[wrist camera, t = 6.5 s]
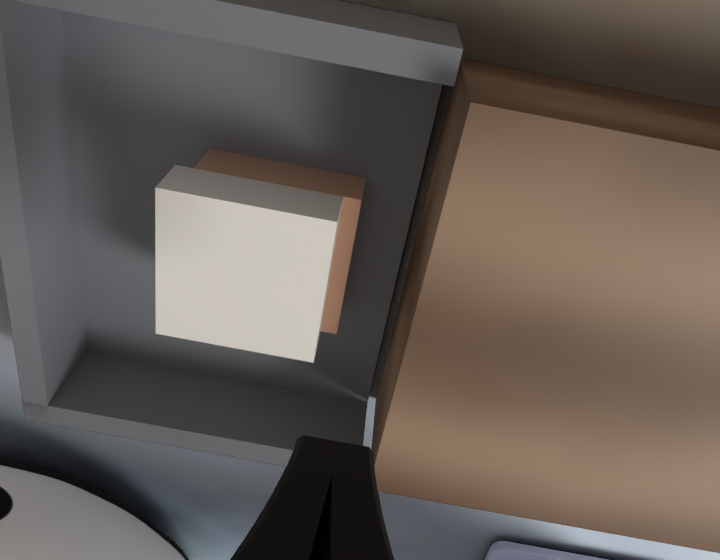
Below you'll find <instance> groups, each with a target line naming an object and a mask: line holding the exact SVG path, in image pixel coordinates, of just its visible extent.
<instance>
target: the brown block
mask: <svg viewBox="0 0 720 560" xmlns="http://www.w3.org/2000/svg"><path fill="white" fill-rule="evenodd" d="M372 451H373V453H374V467H375V476H376V483H377V489H378V492H384V493H389V494H395V495H400V496H406V497H412V498H417V499H423V500H428V501H434V502H439V503H445V504H450V505H456V506H461V507H467V508H473V509H478V510H484V511H489V512H495V513H500V514H506V515H511V516H517V517H522V518H528V519H534V520H539V521H545V522H550V523H556V524H561V525H567V526H572V527H578V528H583V529H589V530H595V531H600V532H606V533H611V534H617V535H622V536H628V537H633V538H639V539H644V540H650V541H656V542H661V543H667V544H672V545H678V546H683V547H689V548H694V549H700V550H705V551H711V552H717V553H720V109H717V108H711V107H706V106H701V105H696V104H691V103H686V102H681V101H676V100H671V99H665V98H660V97H655V96H650V95H645V94H640V93H635V92H630V91H625V90H619V89H614V88H609V87H604V86H599V85H594V84H589V83H584V82H579V81H573V80H568V79H563V78H558V77H553V76H548V75H543V74H538V73H533V72H527V71H522V70H517V69H512V68H507V67H502V66H497V65H492V64H487V63H481V62H476V61H471V60H466V59H461V60H460V64H459V68H458V73H457V77H456V81H455V85H454V87H453V89H452V93H451V97H450V101H449V105H448V109H447V113H446V117H445V121H444V125H443V129H442V133H441V137H440V141H439V146H438V150H437V154H436V158H435V162H434V166H433V170H432V174H431V178H430V182H429V186H428V190H427V194H426V198H425V202H424V206H423V210H422V215H421V219H420V223H419V227H418V231H417V235H416V239H415V243H414V247H413V251H412V255H411V259H410V263H409V267H408V271H407V275H406V279H405V284H404V288H403V292H402V296H401V300H400V304H399V308H398V312H397V316H396V320H395V324H394V328H393V332H392V336H391V340H390V344H389V348H388V353H387V357H386V361H385V365H384V369H383V373H382V377H381V381H380V385H379V389H378V393H377V397H376V404H375V416H374V427H373V439H372Z"/></svg>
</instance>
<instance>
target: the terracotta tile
mask: <svg viewBox="0 0 720 560" xmlns="http://www.w3.org/2000/svg"><path fill="white" fill-rule="evenodd" d="M194 169H200V170H205V171H210V172H215V173H221V174H226V175H231V176H236V177H242V178H247V179H252V180H257V181H263V182H268V183H273V184H278V185H284V186H289V187H294V188H299V189H305V190H310V191H315V192H320V193H326V194H331V195H336V196H341V197H343V203H342V209H341V215H340V221H339V227H338V232H337V238H336V244H335V250H334V256H333V262H332V267H331V273H330V279H329V285H328V291H327V297H326V303H325V308H324V314H323V320H322V326H321V331H323V332H328V333H333V334H337V329H338V324H339V319H340V313H341V308H342V303H343V297H344V292H345V287H346V281H347V276H348V271H349V265H350V260H351V255H352V249H353V244H354V239H355V233H356V228H357V223H358V217H359V212H360V207H361V201H362V196H363V191H364V185H365V180H366V178H362V177H357V176H351V175H346V174H341V173H336V172H330V171H325V170H320V169H315V168H309V167H304V166H299V165H294V164H289V163H283V162H278V161H273V160H268V159H262V158H257V157H252V156H247V155H241V154H236V153H231V152H226V151H220V150H215V149H209V150H208V151H207V152H206V154H205V155H204V156H203V157H202V159H201V160H200V161H199V162H198V164H197V165H196V166H195V167H194Z"/></svg>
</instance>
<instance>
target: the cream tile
mask: <svg viewBox="0 0 720 560" xmlns="http://www.w3.org/2000/svg"><path fill="white" fill-rule="evenodd" d="M342 203H343V197H341V196H336V195H331V194H326V193H320V192H315V191H310V190H305V189H299V188H294V187H289V186H284V185H278V184H273V183H268V182H263V181H257V180H252V179H247V178H242V177H236V176H231V175H226V174H221V173H215V172H210V171H205V170H200V169H194V168H189V167H184V166H179V165H175V166H174V167H173V168H172V169H171V170H170V172H169V173H168V174H167V175H166V176H165V177H164V178H163V179H162V181H161V182H160V183H159V184H158V185H157V186H156V187H155V288H156V334H161V335H166V336H171V337H177V338H182V339H188V340H193V341H198V342H204V343H209V344H215V345H220V346H226V347H231V348H236V349H242V350H247V351H253V352H258V353H263V354H269V355H274V356H280V357H285V358H291V359H296V360H301V361H307V362H312V363H314V359H315V354H316V350H317V345H318V341H319V336H320V332H321V326H322V320H323V314H324V308H325V303H326V297H327V291H328V285H329V279H330V273H331V267H332V262H333V256H334V250H335V244H336V238H337V232H338V227H339V221H340V215H341V209H342Z"/></svg>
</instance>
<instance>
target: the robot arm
mask: <svg viewBox="0 0 720 560" xmlns="http://www.w3.org/2000/svg"><path fill="white" fill-rule="evenodd" d="M230 560H394V558H393V554H392V551H391V547H390V543H389V539H388V536H387V532H386V528H385V524H384V519H383V515H382V510H381V505H380V500H379V495H378V489H377V483H376V476H375V467H374V453H373V451H372V450H371V449H370V448H369V447H366V446H361V445H355V444H350V443H344V442H339V441H334V440H328V439H323V438H317V437H312V436H306V435H303V436H301V437H299V438H297V441H296V444H295V447H294V450H293V452H292V455H291V457H290V460H289V462H288V464H287V466H286V468H285V471H284V473H283V475H282V477H281V479H280V480H279V482H278V484H277V486H276V488H275V490H274V492H273V494H272V495H271V497H270V499H269V500H268V502H267V504H266V505H265V507H264V509H263V510H262V512H261V514H260V515H259V517H258V519H257V520H256V522H255V524H254V525H253V527H252V528H251V530H250V532H249V533H248V535H247V536H246V538H245V539H244V541H243V542H242V543H241V545H240V546H239V548H238V549H237V551H236V552H235V554H234V555H233V556H232V558H231V559H230ZM485 560H608V559H603V558H597V557H592V556H586V555H580V554H575V553H569V552H564V551H558V550H553V549H547V548H541V547H536V546H530V545H525V544H519V543H514V542H508V541H498V542H495V543H494V544H492V546H491V547H490V549H489V551H488V554H487V556H486V558H485Z"/></svg>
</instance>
